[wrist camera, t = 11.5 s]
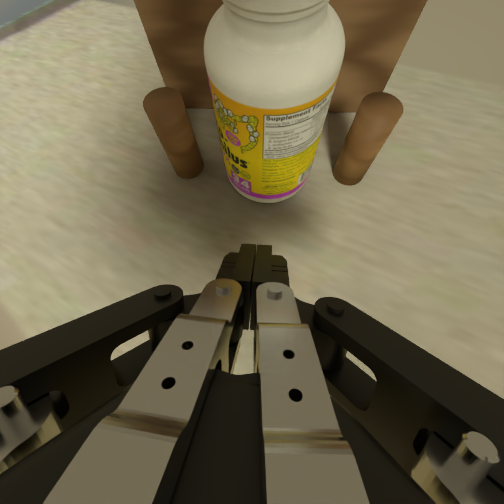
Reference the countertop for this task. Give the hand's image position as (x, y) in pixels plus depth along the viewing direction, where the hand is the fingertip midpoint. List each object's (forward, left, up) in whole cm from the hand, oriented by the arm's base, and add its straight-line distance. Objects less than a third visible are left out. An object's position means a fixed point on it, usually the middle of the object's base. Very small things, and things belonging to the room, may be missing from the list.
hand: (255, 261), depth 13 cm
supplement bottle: (0, -9, -5) cm, 11 cm away
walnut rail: (0, -17, -5) cm, 18 cm away
